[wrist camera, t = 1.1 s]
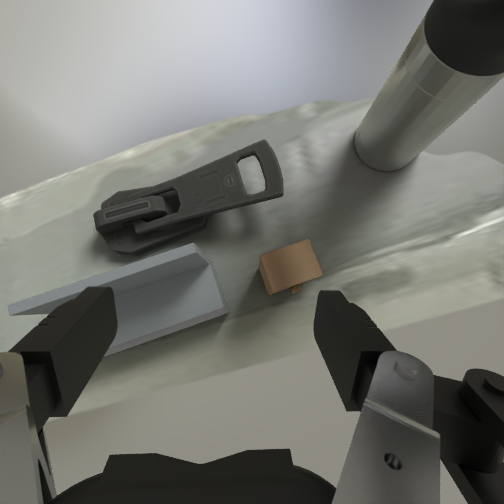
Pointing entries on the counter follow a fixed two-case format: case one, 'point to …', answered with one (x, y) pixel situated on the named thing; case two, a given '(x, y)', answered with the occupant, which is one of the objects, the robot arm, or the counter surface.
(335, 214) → the counter surface
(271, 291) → the cabinet
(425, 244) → the counter surface
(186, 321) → the board
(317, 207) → the counter surface
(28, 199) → the counter surface
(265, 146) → the zipper pull
